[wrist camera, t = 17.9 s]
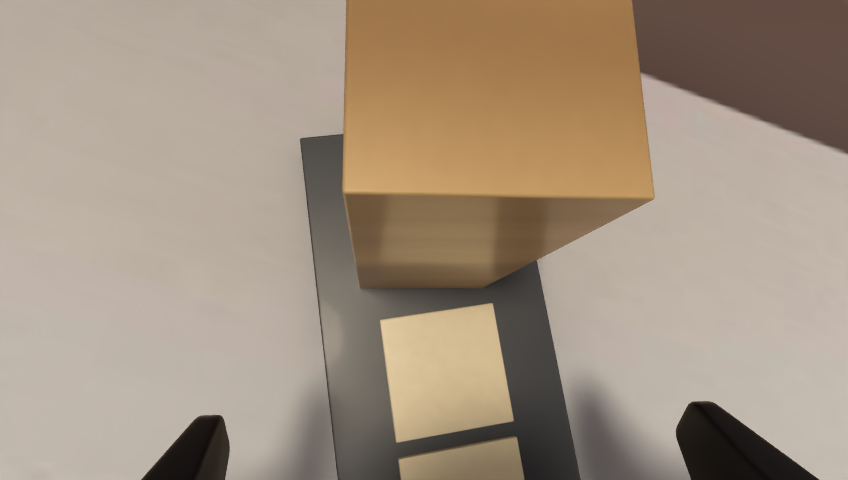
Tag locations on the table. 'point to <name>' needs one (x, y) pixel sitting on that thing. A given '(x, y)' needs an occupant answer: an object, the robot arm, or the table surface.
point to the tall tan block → (486, 134)
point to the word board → (432, 363)
